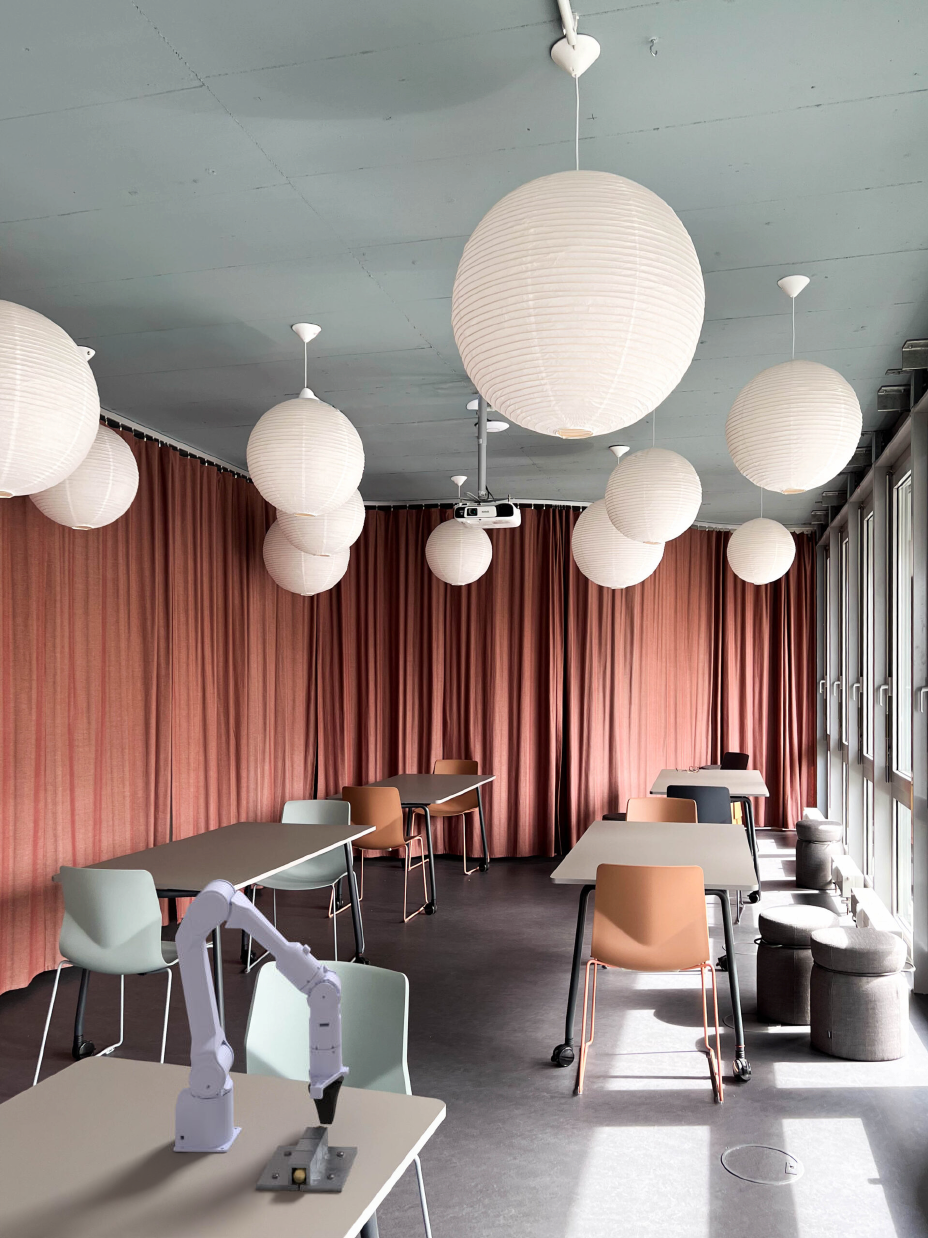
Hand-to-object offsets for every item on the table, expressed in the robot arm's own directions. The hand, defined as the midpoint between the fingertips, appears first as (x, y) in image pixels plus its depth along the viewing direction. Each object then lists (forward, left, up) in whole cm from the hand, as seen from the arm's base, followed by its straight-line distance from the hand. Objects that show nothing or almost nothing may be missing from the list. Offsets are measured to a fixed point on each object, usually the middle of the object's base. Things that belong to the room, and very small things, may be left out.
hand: (326, 1122), depth 162 cm
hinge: (0, -13, -2) cm, 13 cm away
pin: (0, -12, -1) cm, 12 cm away
